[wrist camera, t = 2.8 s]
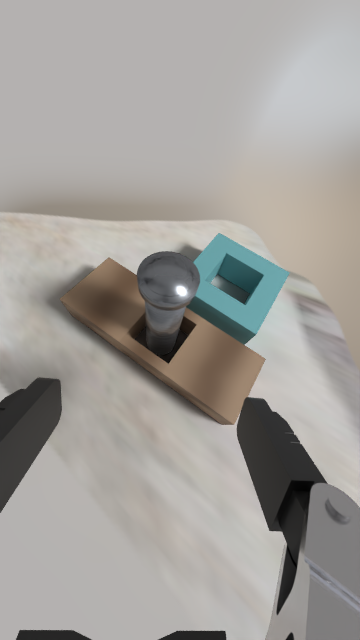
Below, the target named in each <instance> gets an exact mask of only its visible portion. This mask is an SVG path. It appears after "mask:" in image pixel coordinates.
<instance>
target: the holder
mask: <svg viewBox="0 0 360 640" xmlns="http://www.w3.org/2000/svg"><path fill="white" fill-rule="evenodd" d="M193 263H194V264H195V265H196V267H197V269H198V271H199V274H200V284H199V287H198V290H197V293H196V296H195V298H194V299H193V301H192V302H191V303H190V304H189V305H187V306H186V308H188V309H189V310H191V311H193V312H194V313H196V314H197V315H199V316H200V317H202V318H203V319H205V320H206V321H208V322H209V323H211V324H213V325H214V326H216V327H217V328H219V329H220V330H222V331H223V332H225V333H226V334H228V335H230V336H231V337H233V338H234V339H236V340H237V341H239V342H240V343H242V344H243V345H245V344H246V343H247V342H248V341H249V340H250V339H252V338H253V337H254V336H255V335H256V334H257V332H258V330H259V329H260V327H261V325H262V323H263V321H264V319H265V317H266V316H267V314H268V312H269V310H270V308H271V306H272V304H273V303H274V301H275V299H276V297H277V295H278V293H279V292H280V290H281V288H282V286H283V284H284V282H285V280H286V279H287V277H288V275H289V272H287V271H285V270H284V269H282V268H280V267H278V266H277V265H275V264H273V263H271V262H270V261H268V260H266V259H264V258H263V257H261V256H259V255H257V254H256V253H254V252H252V251H250V250H248V249H247V248H245V247H243V246H241V245H240V244H238V243H236V242H234V241H233V240H231V239H229V238H227V237H226V236H224V235H222V234H220V233H218V235H217V236H216V237H215V238H214V239H213V240H212V241H211V243H210V244H209V245H208V246H207V247H206V248H205V249H204V251H203V252H202V253H201V254H200V255H199V256H198V257H197V258H196V260H195V261H194V262H193ZM217 274H219V275H220V276H222V277H224V278H225V279H227V280H228V281H230V282H232V283H233V284H235V285H237V286H238V287H240V288H242V289H243V290H245V291H247V292H248V293H250V295H249V296H248V298H247V300H246V301H245V303H244V304H243V303H241V302H239V301H238V300H236V299H234V298H233V297H231V296H230V295H228V294H226V293H225V292H223V291H221V290H220V289H218V288H217V287H215V286H213V285H212V284H210V283H211V281H212V280H213V279H214V277H215V276H216V275H217Z"/></svg>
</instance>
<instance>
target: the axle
mask: <svg viewBox="0 0 360 640" xmlns="http://www.w3.org/2000/svg"><path fill="white" fill-rule="evenodd" d="M137 281H138V289H139V293H140V295H141V297H142V298H143V299H144V300H145V316H146V338H147V346H148V348H149V350H150V351H151V352H153V353H154V354H157V355H165V354H167V353H169V352H170V351H172V349H173V348H174V345H175V342H176V339H177V335H178V332H179V329H180V325H181V322H182V319H183V315H184V312H185V309H186V306H187V305H189V304H190V303H191V302H192V301H193V299H194V298H195V296H196V293H197V290H198V287H199V284H200V274H199V271H198V269H197V267H196V265H195V264H194V263H193V262H192V261H191V260H190V259H189V258H187V257H185V256H184V255H181V254H179V253H175V252H168V251H165V252H158V253H154V254H152V255H150V256H148V257H147V258H145V259H144V260H143V261H142V262H141V264H140V266H139V268H138V271H137Z"/></svg>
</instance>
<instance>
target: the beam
mask: <svg viewBox="0 0 360 640" xmlns="http://www.w3.org/2000/svg"><path fill="white" fill-rule="evenodd" d="M60 300H61V301H62V303H63V304H64V306H65V307H66V308H67V310H68V311H69V313H70V314H71V315H72V316H73V317H75V318H76V319H77V320H79V321H80V322H81V323H83V324H84V325H86V326H87V327H88V328H90V329H91V330H92V331H94V332H95V333H97V334H98V335H99V336H101V337H102V338H103V339H105V340H106V341H108V342H109V343H110V344H112V345H113V346H114V347H116V348H117V349H119V350H120V351H121V352H123V353H124V354H125V355H127V356H128V357H130V358H131V359H132V360H134V361H135V362H136V363H138V364H139V365H141V366H142V367H143V368H145V369H146V370H147V371H149V372H150V373H152V374H153V375H154V376H156V377H157V378H158V379H160V380H161V381H162V382H164V383H165V384H167V385H168V386H169V387H171V388H172V389H173V390H175V391H176V392H178V393H179V394H180V395H182V396H183V397H184V398H186V399H187V400H189V401H190V402H191V403H193V404H194V405H195V406H197V407H198V408H200V409H201V410H202V411H204V412H205V413H206V414H208V415H209V416H211V417H212V418H213V419H215V420H216V421H217V422H219V423H220V424H222V425H234V424H235V422H236V420H237V417H238V415H239V413H240V411H241V409H242V406H243V402H244V400H245V398H246V397H248V395H249V393H250V391H251V388H252V386H253V384H254V382H255V380H256V378H257V376H258V374H259V372H260V370H261V368H262V366H263V364H264V362H265V360H266V359H265V358H263V357H262V356H260V355H259V354H257V353H256V352H254V351H253V350H251V349H250V348H248V347H246V346H245V345H243V344H242V343H240V342H239V341H237V340H236V339H234V338H233V337H231V336H230V335H228V334H226V333H225V332H223V331H222V330H220V329H219V328H217V327H216V326H214V325H213V324H211V323H209V322H208V321H206V320H205V319H203V318H202V317H200V316H199V315H197V314H196V313H194V312H193V311H191V310H189V309H188V308H186V309H185V312H184V315H183V319H182V322H181V325H180V330H181V331H183V332H184V333H186V334H187V335H189V336H188V338H187V339H186V340H185V342H184V343H183V344H182V346H181V347H180V349H179V350H178V351H177V353H176V354H175V356H174V357H173V358H172V360H171V361H170V363H169V364H168V363H167V362H165V361H164V360H162V359H161V358H160V357H158V356H157V355H155V354H154V353H152V352H151V351H150V350H148V349H147V348H145V347H144V346H143V345H141V344H140V343H138V342H137V341H136V340H134V339H135V338H136V337H137V336H138V335H139V334H140V332H141V331H142V330H143V329H144V328H145V327H146V316H145V300H144V299H143V298H142V297H141V295H140V293H139V289H138V281H137V275H135V274H134V273H132V272H131V271H129V270H128V269H126V268H125V267H123V266H122V265H120V264H119V263H117V262H115V261H114V260H112V259H111V258H108V259H106V260H105V261H104V262H103V263H102V264H100V265H99V266H98V267H97V268H96V269H95V270H93V271H92V272H91V273H90V274H89V275H87V276H86V277H85V278H84V279H83V280H82V281H80V282H79V283H78V284H77V285H76V286H75V287H73V288H72V289H71V290H70V291H69V292H67V293H66V294H65V295H64V296H63V297H62V298H60Z"/></svg>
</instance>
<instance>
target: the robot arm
mask: <svg viewBox="0 0 360 640" xmlns="http://www.w3.org/2000/svg"><path fill="white" fill-rule="evenodd" d="M61 411H62V404H61V384H60V380H59V379H50V378H37V379H36V380H35V381H34V382H33V383H31V384H30V385H29V386H28V387H27V388H26V389H20V390H18V391H16V392H14V393H13V394H11V395H9V396H7V397H5V398H4V399H3V400H2V401H1V402H0V513H1V511H2V510H3V508H4V506H5V505H6V503H7V502H8V500H9V498H10V497H11V495H12V494H13V493H14V491H15V489H16V488H17V486H18V485H19V483H20V482H21V480H22V478H23V477H24V475H25V474H26V472H27V471H28V469H29V468H30V466H31V464H32V463H33V461H34V460H35V458H36V457H37V455H38V454H39V452H40V451H41V449H42V447H43V446H44V444H45V443H46V441H47V440H48V438H49V437H50V435H51V434H52V432H53V430H54V429H55V427H56V426H57V424H58V422H59V419H60V416H61ZM237 437H238V441H239V444H240V447H241V449H242V452H243V455H244V458H245V461H246V464H247V467H248V470H249V473H250V476H251V479H252V481H253V484H254V487H255V490H256V493H257V496H258V499H259V502H260V505H261V508H262V510H263V513H264V516H265V519H266V522H267V525H268V528H269V531H282V532H283V535H284V537H285V540H286V543H285V545H284V548H283V554H282V560H281V565H280V571H279V577H278V582H277V588H276V594H275V599H274V605H273V611H272V616H271V621H270V625H269V629H268V632H267V635H266V638H265V640H360V507H359V506H358V505H357V504H356V503H355V502H354V501H353V500H352V499H351V498H350V497H349V496H348V495H347V494H345V493H344V492H343V491H341V490H340V489H338V488H336V487H334V486H332V485H329V484H327V482H326V481H325V479H324V478H323V476H322V475H321V473H320V472H319V470H318V468H317V467H316V465H315V464H314V462H313V461H312V459H311V458H310V456H309V455H308V453H307V452H306V450H305V449H304V447H303V446H302V444H300V441H299V440H298V438H297V437H296V435H294V432H293V430H292V429H291V427H290V426H289V424H288V423H287V421H285V420H284V419H283V418H282V417H281V416H280V415H279V414H278V413H277V412H272V410H271V409H270V407H269V405H268V404H267V402H266V401H265V400H264V399H261V398H250V397H246V398H245V400H244V402H243V406H242V410H241V413H240V417H239V420H238V424H237ZM16 640H91V639H89V638H87V637H85V636H83V635H81V634H79V633H77V632H75V631H72V630H20V631H19V633H18V636H17V638H16ZM159 640H226V633H225V631H176V632H174V633H172V634H170V635H167V636H165V637H163V638H161V639H159Z"/></svg>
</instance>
